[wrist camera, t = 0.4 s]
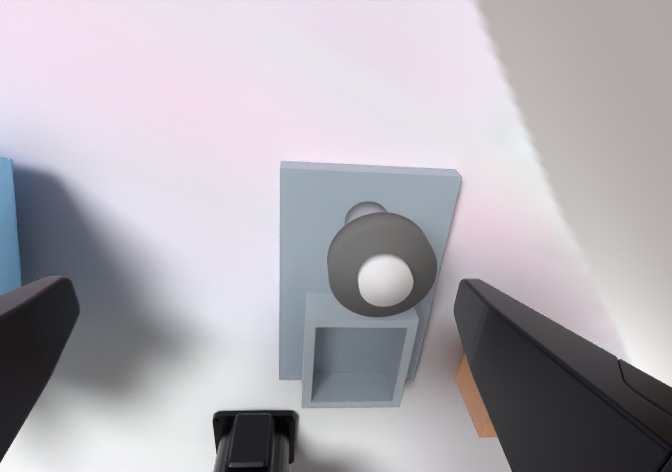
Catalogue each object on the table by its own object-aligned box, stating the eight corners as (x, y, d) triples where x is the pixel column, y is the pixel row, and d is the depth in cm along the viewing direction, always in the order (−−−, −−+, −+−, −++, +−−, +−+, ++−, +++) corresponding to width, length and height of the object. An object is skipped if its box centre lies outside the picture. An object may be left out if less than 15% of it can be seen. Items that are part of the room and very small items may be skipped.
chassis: (410, 367, 30) (422, 408, 27) (280, 366, 29) (276, 409, 26) (454, 169, 23) (479, 194, 19) (281, 161, 22) (276, 185, 18)
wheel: (419, 300, 20) (431, 329, 18) (324, 298, 20) (326, 328, 18) (437, 214, 18) (453, 236, 16) (330, 210, 18) (333, 233, 16)
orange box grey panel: (502, 379, 32) (538, 444, 27) (455, 379, 31) (482, 445, 26) (520, 332, 29) (564, 395, 24) (469, 332, 29) (503, 395, 24)
